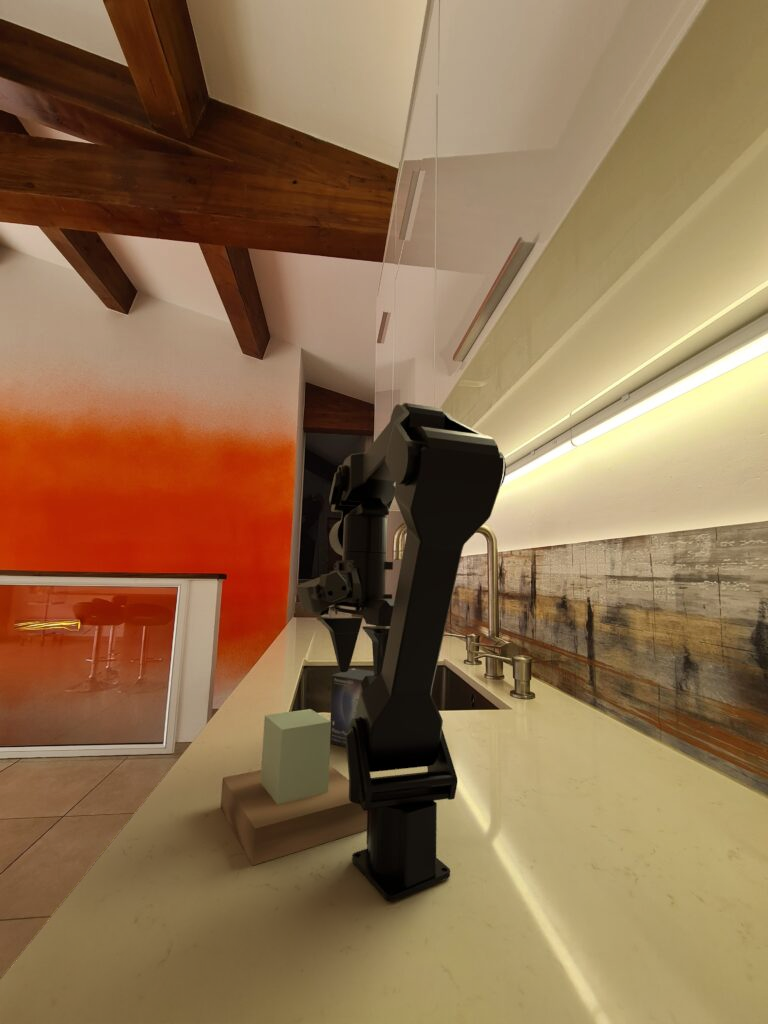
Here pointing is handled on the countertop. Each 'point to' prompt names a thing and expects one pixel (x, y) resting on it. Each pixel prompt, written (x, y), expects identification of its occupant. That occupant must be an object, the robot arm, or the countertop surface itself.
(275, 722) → the sage block
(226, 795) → the walnut block
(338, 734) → the small box
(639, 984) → the countertop surface
